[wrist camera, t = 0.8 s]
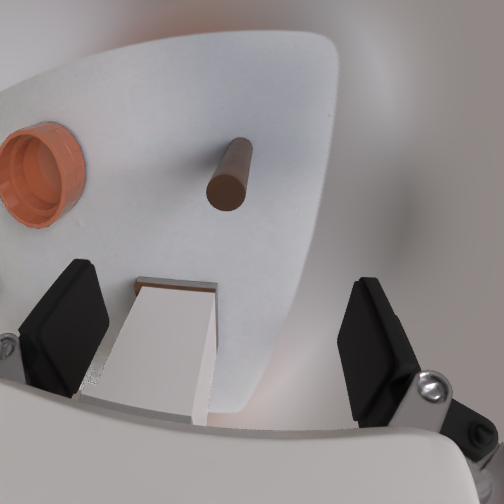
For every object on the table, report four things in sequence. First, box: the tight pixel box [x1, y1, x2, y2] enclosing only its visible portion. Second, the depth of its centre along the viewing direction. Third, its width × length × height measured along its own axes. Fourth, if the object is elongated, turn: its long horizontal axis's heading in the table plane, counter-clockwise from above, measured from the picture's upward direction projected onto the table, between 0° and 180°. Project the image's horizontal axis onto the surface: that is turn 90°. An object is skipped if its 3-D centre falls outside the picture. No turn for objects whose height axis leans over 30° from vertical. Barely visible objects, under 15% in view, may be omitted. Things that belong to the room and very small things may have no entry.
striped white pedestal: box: [78, 277, 218, 426], centre depth 27 cm, size 11×11×35 cm
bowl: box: [0, 122, 86, 229], centre depth 29 cm, size 12×12×5 cm
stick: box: [206, 138, 253, 211], centre depth 24 cm, size 2×2×14 cm
